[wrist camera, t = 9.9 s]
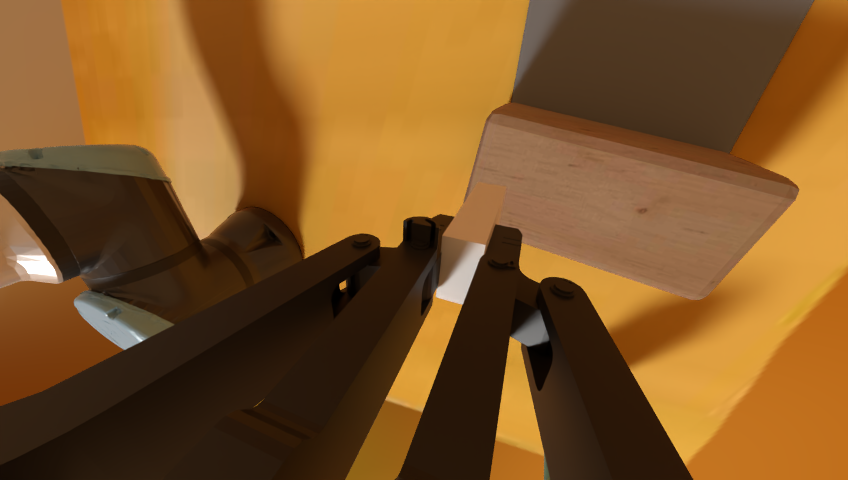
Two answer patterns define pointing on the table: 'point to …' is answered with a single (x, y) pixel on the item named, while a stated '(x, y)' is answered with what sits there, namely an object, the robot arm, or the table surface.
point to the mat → (656, 62)
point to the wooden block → (627, 197)
